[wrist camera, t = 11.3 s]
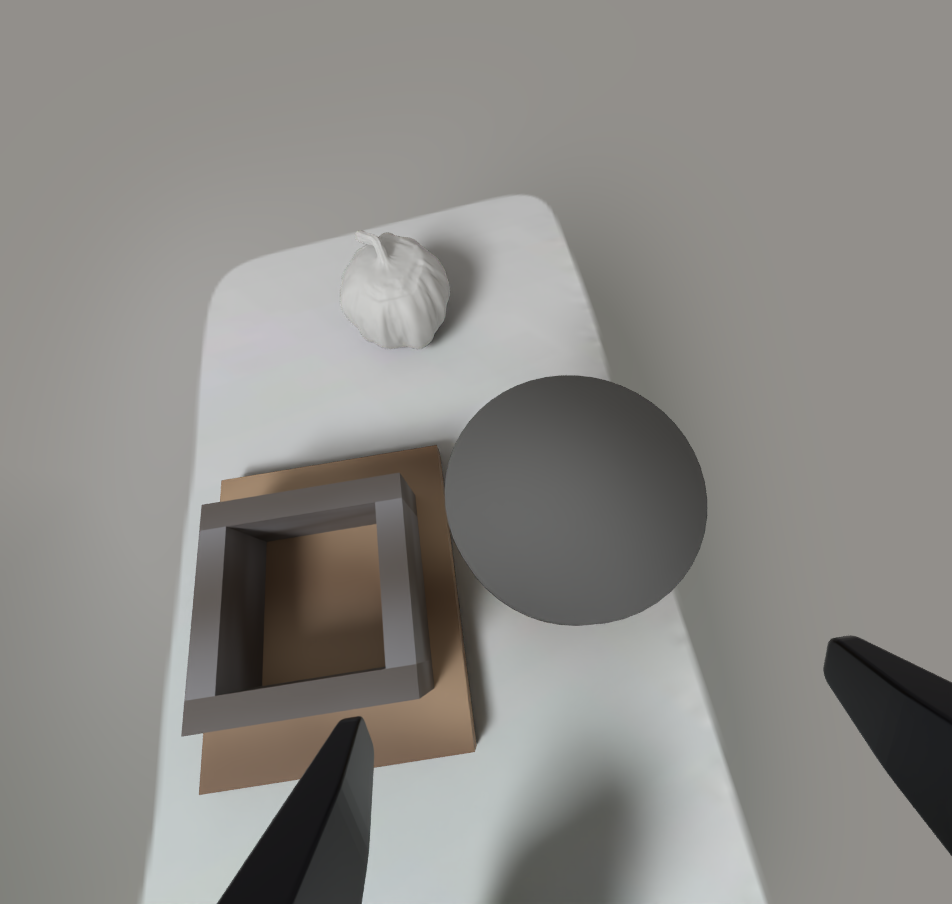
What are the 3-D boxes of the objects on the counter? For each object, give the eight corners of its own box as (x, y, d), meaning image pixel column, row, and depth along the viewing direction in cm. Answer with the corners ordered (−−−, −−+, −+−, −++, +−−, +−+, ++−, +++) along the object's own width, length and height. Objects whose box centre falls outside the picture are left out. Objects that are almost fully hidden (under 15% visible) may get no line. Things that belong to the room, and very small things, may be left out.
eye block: (476, 745, 17) (467, 776, 13) (215, 786, 17) (134, 828, 13) (439, 453, 22) (425, 415, 18) (234, 487, 22) (176, 456, 18)
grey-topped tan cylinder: (604, 619, 18) (748, 600, 7) (492, 637, 18) (462, 646, 7) (577, 509, 20) (661, 358, 9) (475, 526, 20) (431, 395, 9)
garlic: (344, 297, 26) (306, 220, 21) (434, 267, 26) (417, 184, 21) (372, 383, 23) (335, 318, 19) (470, 348, 24) (459, 275, 19)
